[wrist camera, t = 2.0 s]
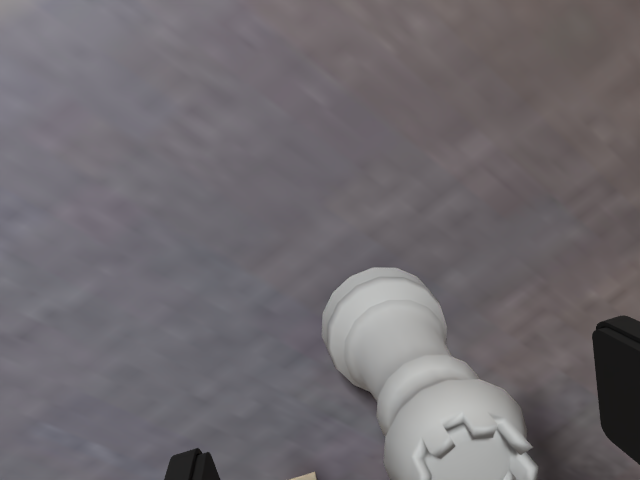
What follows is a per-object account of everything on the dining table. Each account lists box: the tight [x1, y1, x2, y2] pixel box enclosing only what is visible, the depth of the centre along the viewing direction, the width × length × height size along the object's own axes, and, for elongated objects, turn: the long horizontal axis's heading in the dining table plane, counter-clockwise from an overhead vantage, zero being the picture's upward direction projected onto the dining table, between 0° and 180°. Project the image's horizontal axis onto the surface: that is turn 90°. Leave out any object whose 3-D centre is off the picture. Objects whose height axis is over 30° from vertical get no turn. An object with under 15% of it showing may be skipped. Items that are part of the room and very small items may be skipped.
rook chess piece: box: [322, 268, 539, 480], centre depth 12 cm, size 4×4×8 cm
